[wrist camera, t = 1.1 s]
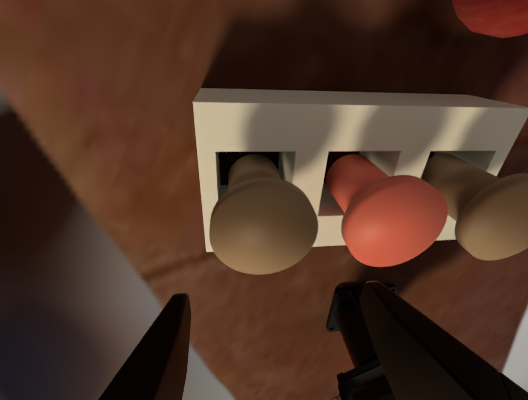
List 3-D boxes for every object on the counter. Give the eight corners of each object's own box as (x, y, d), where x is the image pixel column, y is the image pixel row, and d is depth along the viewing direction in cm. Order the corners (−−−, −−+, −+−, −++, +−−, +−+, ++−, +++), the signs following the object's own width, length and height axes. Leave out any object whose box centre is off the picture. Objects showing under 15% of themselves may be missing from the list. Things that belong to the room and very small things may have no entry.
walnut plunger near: (287, 209, 17) (310, 271, 13) (216, 211, 17) (212, 277, 12) (294, 140, 15) (326, 185, 10) (212, 140, 14) (205, 187, 10)
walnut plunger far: (454, 204, 19) (530, 258, 14) (393, 206, 18) (452, 262, 14) (484, 140, 17) (586, 179, 12) (415, 140, 16) (494, 181, 11)
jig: (423, 206, 23) (463, 239, 19) (210, 212, 21) (206, 251, 17) (467, 94, 18) (532, 108, 14) (200, 88, 16) (192, 102, 12)
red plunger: (374, 206, 18) (426, 264, 13) (308, 208, 18) (339, 269, 13) (393, 140, 16) (464, 182, 11) (318, 140, 15) (360, 184, 11)
